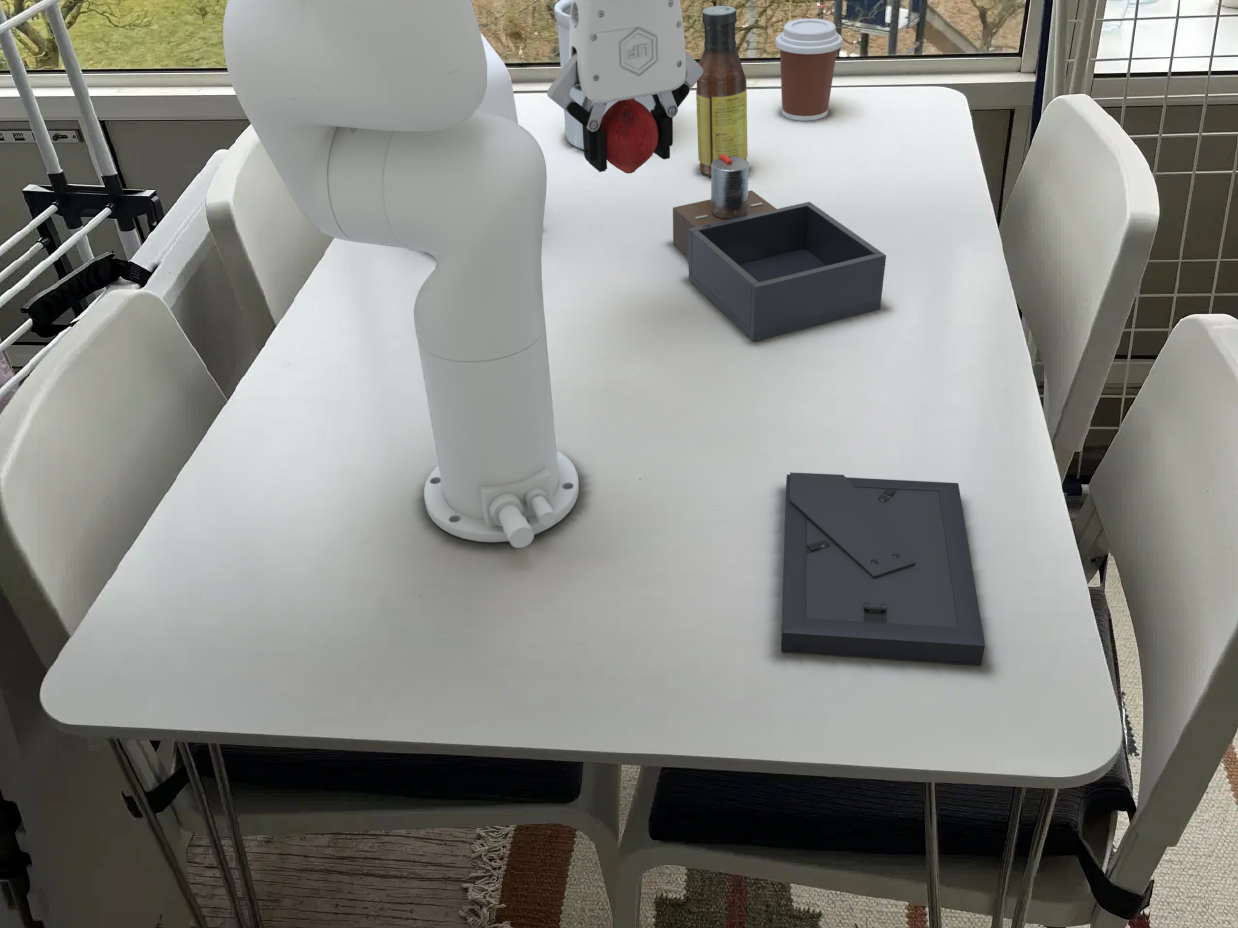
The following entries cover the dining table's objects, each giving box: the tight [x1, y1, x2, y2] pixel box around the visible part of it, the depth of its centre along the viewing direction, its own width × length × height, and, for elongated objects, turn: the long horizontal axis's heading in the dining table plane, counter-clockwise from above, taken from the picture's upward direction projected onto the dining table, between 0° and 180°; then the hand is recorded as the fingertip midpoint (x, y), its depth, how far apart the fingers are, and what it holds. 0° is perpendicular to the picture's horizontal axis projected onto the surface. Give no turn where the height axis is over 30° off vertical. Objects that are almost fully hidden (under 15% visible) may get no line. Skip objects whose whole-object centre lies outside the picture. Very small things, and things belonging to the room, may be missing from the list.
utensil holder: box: [553, 0, 655, 150], centre depth 152 cm, size 15×15×18 cm
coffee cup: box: [774, 18, 844, 122], centre depth 158 cm, size 9×9×12 cm
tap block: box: [672, 190, 777, 259], centre depth 126 cm, size 8×10×5 cm
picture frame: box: [780, 471, 986, 666], centre depth 83 cm, size 13×2×18 cm
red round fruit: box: [601, 98, 659, 175], centre depth 108 cm, size 6×6×8 cm
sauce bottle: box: [695, 5, 748, 177], centre depth 140 cm, size 6×6×20 cm
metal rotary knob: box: [710, 154, 750, 219], centre depth 123 cm, size 4×4×6 cm
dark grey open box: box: [688, 201, 887, 343], centre depth 117 cm, size 15×15×6 cm
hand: (629, 159), depth 110 cm, fingers closed on red round fruit, 5 cm apart
